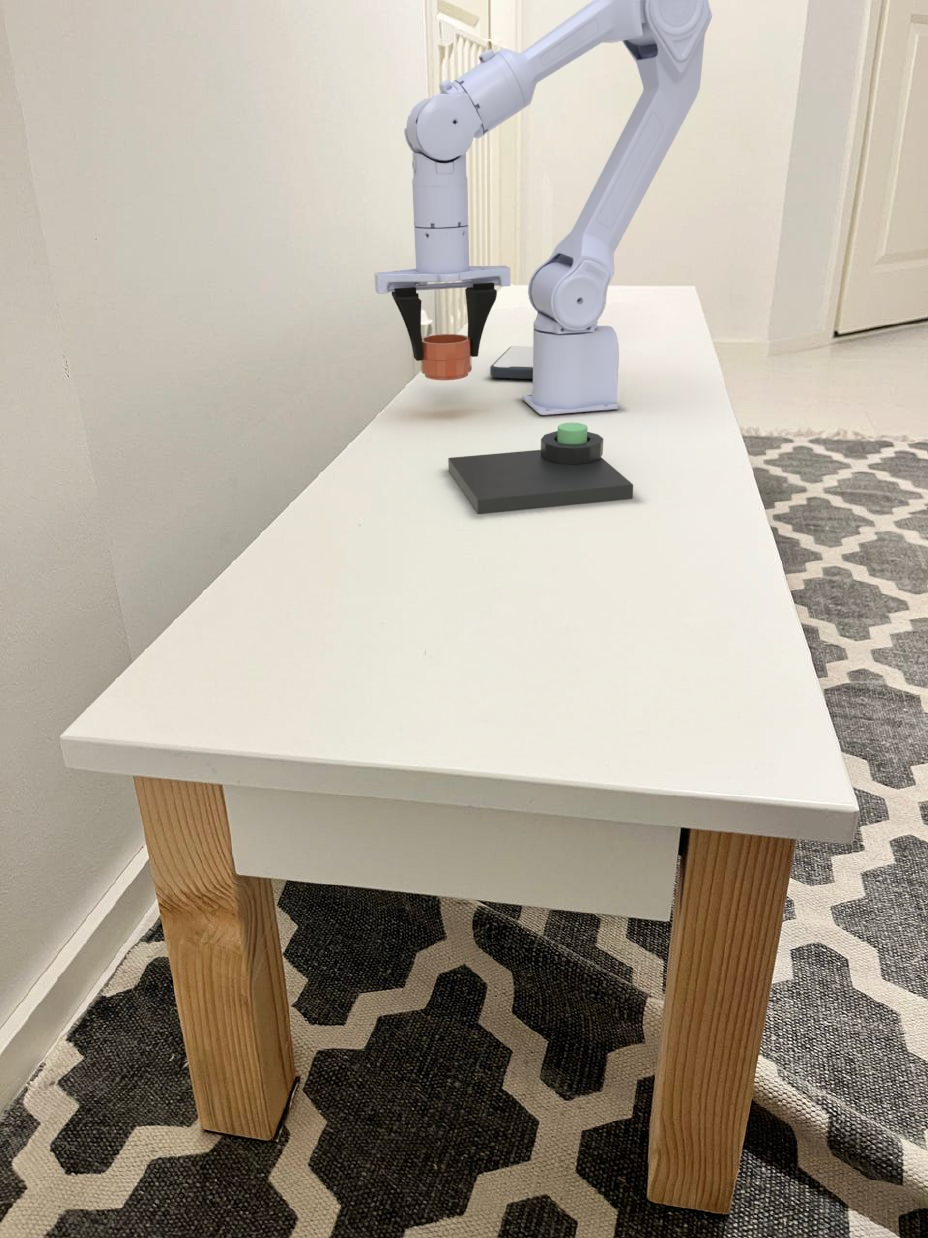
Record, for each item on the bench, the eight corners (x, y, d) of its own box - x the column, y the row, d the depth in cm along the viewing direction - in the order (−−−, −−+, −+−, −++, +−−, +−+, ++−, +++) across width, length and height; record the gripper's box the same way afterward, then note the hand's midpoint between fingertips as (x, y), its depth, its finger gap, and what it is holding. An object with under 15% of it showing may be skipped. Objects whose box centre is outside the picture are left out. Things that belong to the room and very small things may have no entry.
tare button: (581, 437, 93) (581, 421, 93) (591, 445, 91) (591, 429, 90) (553, 439, 93) (553, 423, 92) (562, 447, 90) (562, 431, 90)
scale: (589, 457, 96) (590, 428, 95) (636, 499, 85) (638, 466, 84) (447, 470, 93) (446, 440, 92) (477, 515, 83) (477, 481, 81)
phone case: (509, 356, 140) (487, 379, 126) (509, 344, 139) (487, 367, 125) (571, 358, 138) (555, 382, 124) (571, 346, 137) (556, 369, 123)
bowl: (465, 367, 112) (464, 332, 110) (476, 378, 107) (475, 341, 105) (417, 371, 111) (415, 335, 109) (426, 382, 106) (425, 345, 104)
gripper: (378, 232, 97) (386, 369, 103) (518, 226, 100) (517, 359, 106) (368, 226, 103) (377, 355, 110) (500, 220, 106) (501, 346, 112)
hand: (445, 356), depth 108 cm, fingers closed on bowl, 5 cm apart
